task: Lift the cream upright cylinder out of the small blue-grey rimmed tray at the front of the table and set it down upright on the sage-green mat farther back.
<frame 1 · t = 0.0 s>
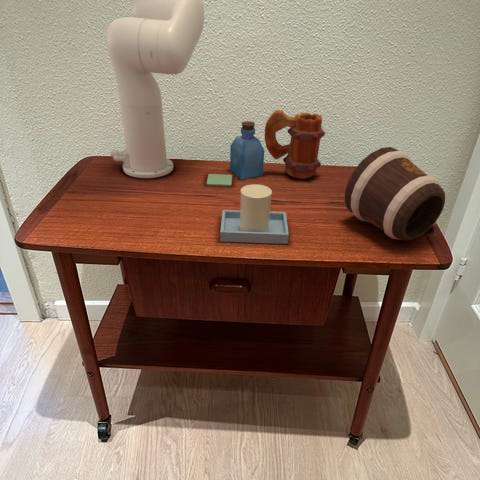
mug: (290, 175, 109), on the table
mat: (219, 180, 104), on the table
cream upright cylinder: (254, 228, 86), point 1 cm above the table, touching tray
tray: (253, 230, 86), on the table
perfume bottle: (246, 173, 109), on the table
mug 2: (375, 183, 90), point 7 cm above the table
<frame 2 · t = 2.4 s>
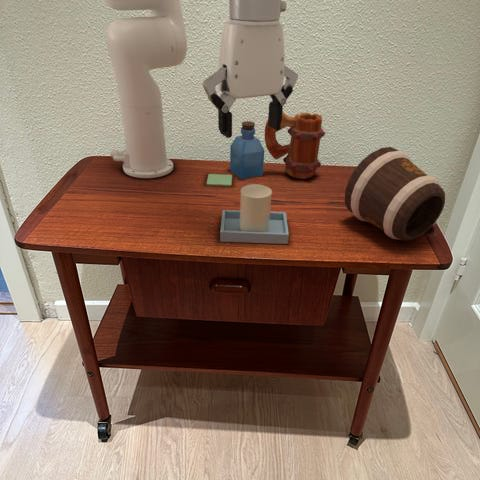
hand: (250, 131, 74), 19 cm above the table, tool pointing down, fingers open, 9 cm apart
nothing on the table moved.
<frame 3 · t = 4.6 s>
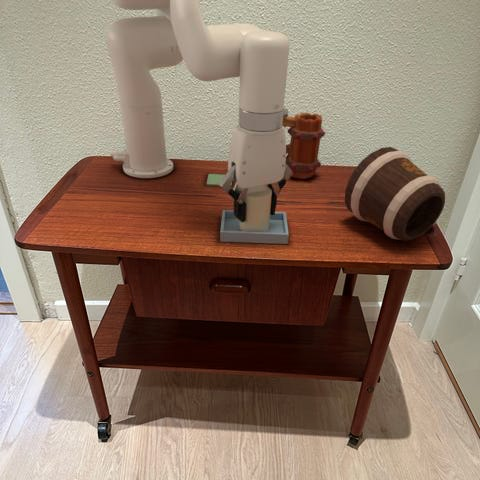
hand: (254, 214, 84), 4 cm above the table, tool pointing down, fingers closed on cream upright cylinder, 6 cm apart
cream upright cylinder: (254, 228, 86), point 1 cm above the table, touching gripper, tray
everything else where it was.
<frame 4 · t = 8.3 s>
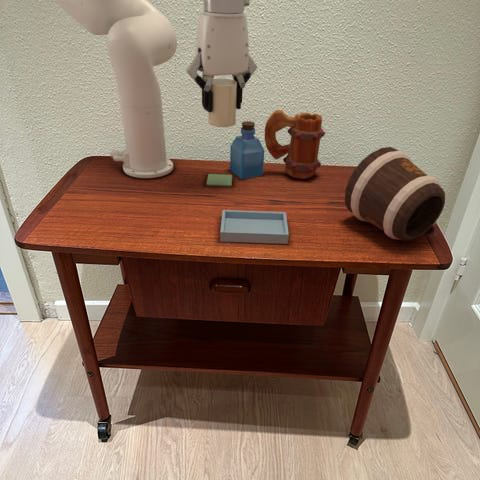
hand: (222, 108, 91), 17 cm above the table, tool pointing down, fingers closed on cream upright cylinder, 6 cm apart
cream upright cylinder: (221, 122, 93), point 14 cm above the table, touching gripper
everything else where it was.
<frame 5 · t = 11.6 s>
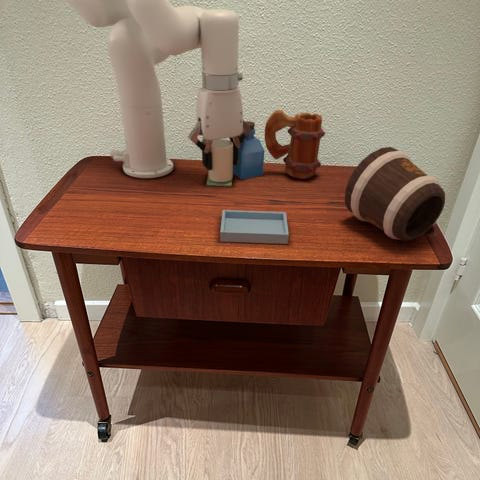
hand: (220, 165, 102), 4 cm above the table, tool pointing down, fingers closed on cream upright cylinder, 6 cm apart
cream upright cylinder: (220, 177, 104), point 1 cm above the table, touching gripper
perfume bottle: (246, 173, 109), on the table, touching gripper
everything else where it was.
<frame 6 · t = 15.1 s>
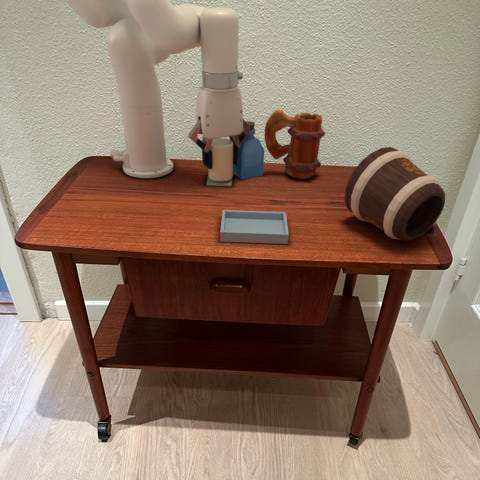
hand: (220, 164, 101), 4 cm above the table, tool pointing down, fingers closed on cream upright cylinder, 6 cm apart
cream upright cylinder: (220, 176, 103), point 1 cm above the table, touching gripper
perfume bottle: (246, 173, 109), on the table
everything else where it was.
when the fingers open (4 cm above the table, at t = 18.3 s): cream upright cylinder drops 1 cm, resting on mat.
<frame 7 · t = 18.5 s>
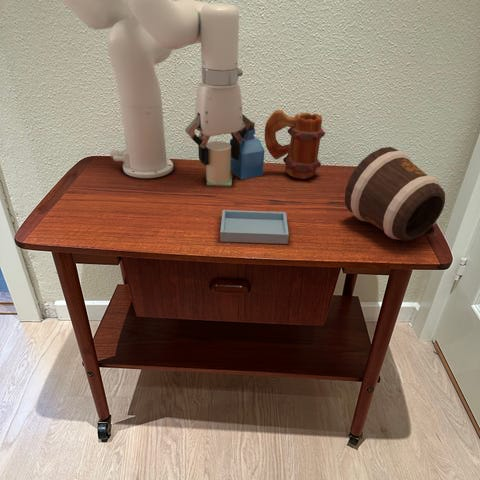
hand: (219, 160, 101), 5 cm above the table, tool pointing down, fingers open, 7 cm apart
cream upright cylinder: (218, 178, 104), resting on mat
perfume bottle: (246, 173, 109), on the table, touching gripper
everything else where it was.
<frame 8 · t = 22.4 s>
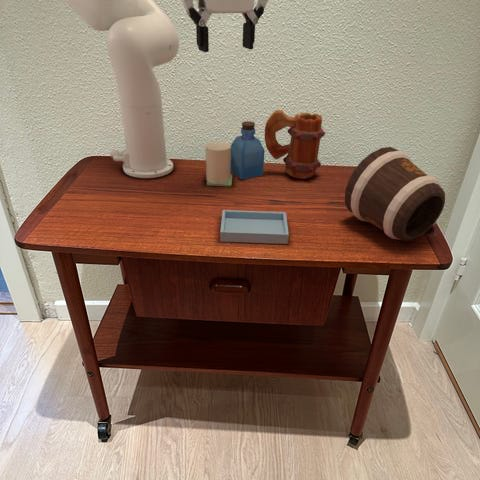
hand: (226, 49, 82), 28 cm above the table, tool pointing down, fingers open, 9 cm apart
perfume bottle: (246, 173, 109), on the table
everything else where it was.
at the end: cream upright cylinder 0.3 cm off-centre on the mat, point 0.4 cm above the mat's base; cream upright cylinder tilted 0°; cream upright cylinder touching mat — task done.
